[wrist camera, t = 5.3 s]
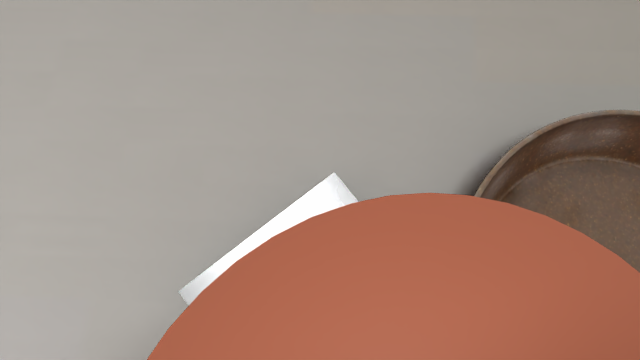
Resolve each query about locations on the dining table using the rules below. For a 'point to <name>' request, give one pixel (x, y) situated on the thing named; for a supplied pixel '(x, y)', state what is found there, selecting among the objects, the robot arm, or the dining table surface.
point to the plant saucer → (579, 177)
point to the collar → (276, 229)
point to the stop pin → (417, 289)
